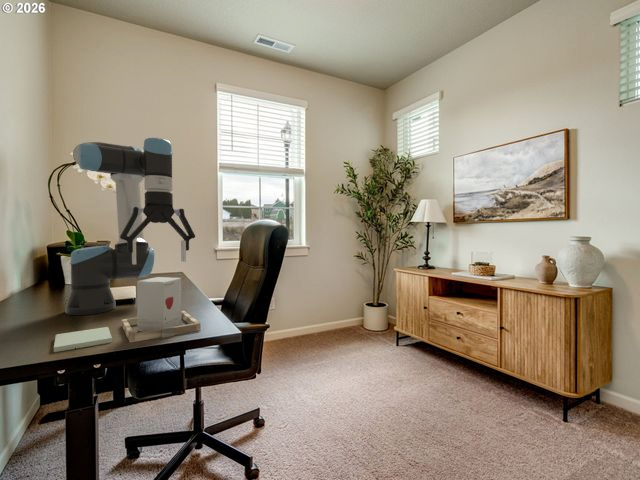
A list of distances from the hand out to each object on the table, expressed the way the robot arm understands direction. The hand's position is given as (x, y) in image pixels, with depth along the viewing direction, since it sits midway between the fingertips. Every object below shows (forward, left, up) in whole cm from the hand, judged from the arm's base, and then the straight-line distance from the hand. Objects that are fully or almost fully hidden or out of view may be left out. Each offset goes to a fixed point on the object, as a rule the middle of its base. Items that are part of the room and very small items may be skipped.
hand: (159, 262), depth 99 cm
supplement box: (0, 0, -20) cm, 20 cm away
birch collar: (0, 0, -20) cm, 20 cm away
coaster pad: (0, -19, -20) cm, 28 cm away
